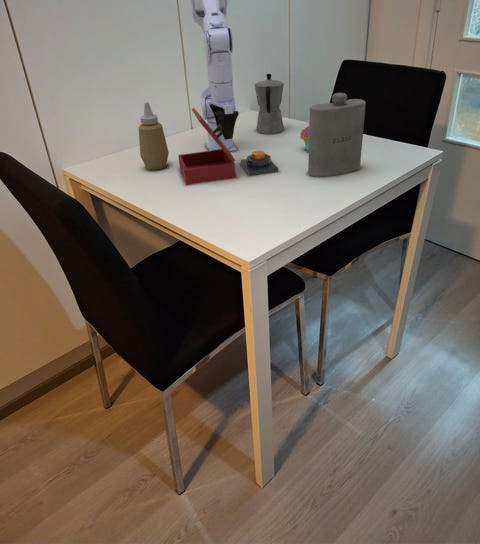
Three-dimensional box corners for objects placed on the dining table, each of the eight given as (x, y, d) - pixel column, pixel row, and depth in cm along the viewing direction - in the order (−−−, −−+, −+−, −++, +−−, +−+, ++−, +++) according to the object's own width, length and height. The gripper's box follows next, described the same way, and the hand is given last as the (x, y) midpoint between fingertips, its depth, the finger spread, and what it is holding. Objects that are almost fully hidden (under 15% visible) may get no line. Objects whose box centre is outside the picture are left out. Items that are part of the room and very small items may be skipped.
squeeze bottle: (165, 172, 136) (155, 106, 126) (138, 171, 138) (126, 106, 128) (174, 161, 143) (165, 99, 133) (148, 161, 144) (138, 99, 135)
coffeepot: (257, 124, 170) (255, 70, 160) (284, 123, 168) (284, 68, 159) (254, 138, 157) (252, 80, 147) (283, 138, 156) (283, 79, 146)
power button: (250, 157, 135) (250, 151, 134) (263, 155, 135) (262, 149, 134) (253, 161, 132) (253, 155, 131) (266, 160, 132) (266, 153, 132)
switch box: (240, 163, 138) (240, 153, 137) (267, 159, 140) (267, 149, 138) (249, 176, 130) (249, 165, 129) (277, 172, 132) (277, 161, 130)
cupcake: (330, 153, 141) (332, 112, 135) (301, 155, 142) (301, 113, 135) (326, 144, 148) (328, 104, 142) (298, 145, 149) (299, 105, 142)
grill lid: (199, 121, 120) (211, 110, 119) (191, 109, 130) (203, 98, 129) (233, 162, 127) (245, 152, 127) (223, 148, 138) (234, 138, 137)
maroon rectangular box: (186, 185, 128) (184, 170, 125) (180, 168, 138) (178, 154, 136) (235, 177, 130) (234, 163, 128) (225, 162, 140) (224, 148, 138)
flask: (314, 179, 126) (317, 100, 115) (305, 172, 130) (306, 95, 120) (365, 169, 129) (372, 92, 119) (354, 162, 134) (360, 87, 123)
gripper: (201, 77, 127) (205, 128, 135) (211, 89, 115) (216, 144, 123) (227, 74, 128) (230, 125, 136) (240, 85, 117) (242, 141, 124)
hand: (225, 134), depth 129 cm, fingers open, 7 cm apart
